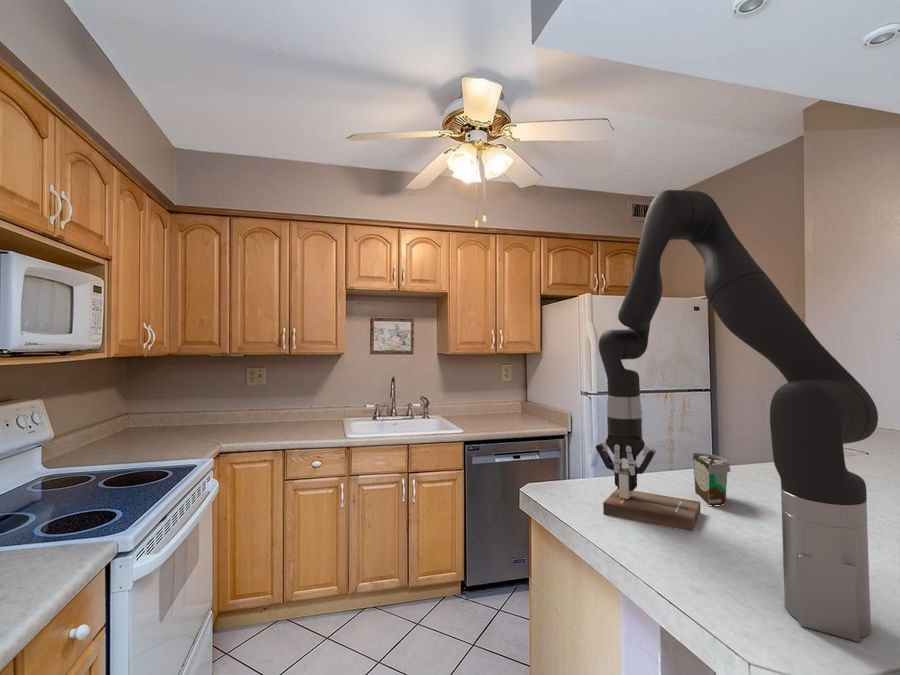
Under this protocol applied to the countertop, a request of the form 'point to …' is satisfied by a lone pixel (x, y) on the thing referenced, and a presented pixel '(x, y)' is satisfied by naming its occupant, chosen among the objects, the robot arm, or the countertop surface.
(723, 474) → the food container
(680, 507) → the fader console
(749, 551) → the countertop surface
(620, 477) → the fader tab
